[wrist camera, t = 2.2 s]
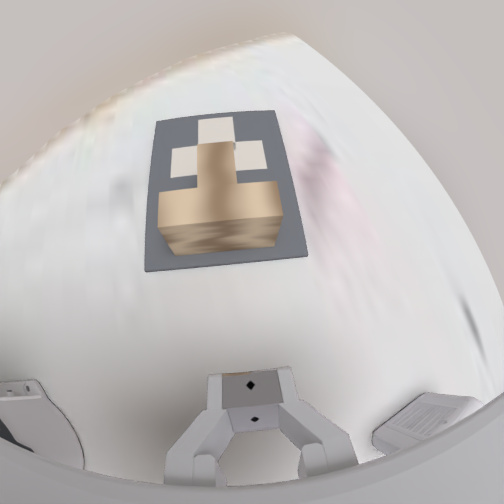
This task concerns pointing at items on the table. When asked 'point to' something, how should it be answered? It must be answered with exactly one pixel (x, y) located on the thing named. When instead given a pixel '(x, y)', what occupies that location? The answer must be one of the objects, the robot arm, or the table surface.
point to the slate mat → (247, 171)
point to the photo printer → (423, 420)
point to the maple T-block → (219, 208)
